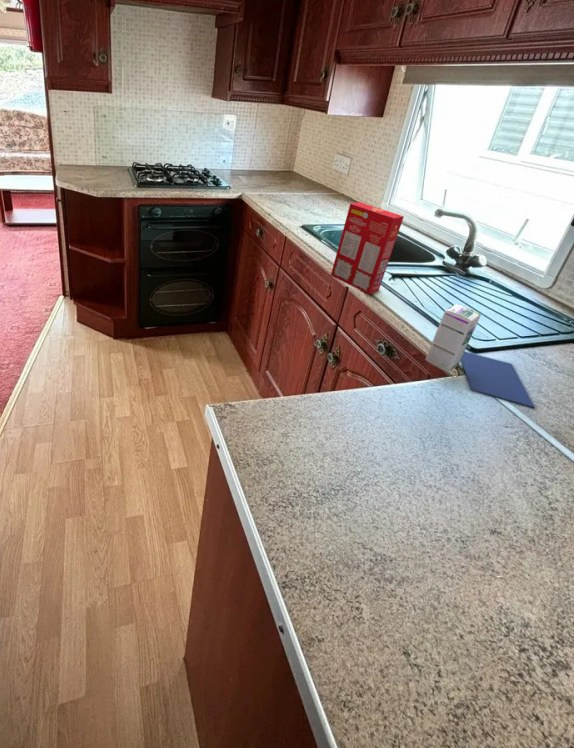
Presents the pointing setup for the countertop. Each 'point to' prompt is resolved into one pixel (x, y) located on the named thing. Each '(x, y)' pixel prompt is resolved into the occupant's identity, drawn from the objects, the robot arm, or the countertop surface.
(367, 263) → the food packaging
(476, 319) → the syrup box
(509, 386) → the cloth
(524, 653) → the countertop surface
